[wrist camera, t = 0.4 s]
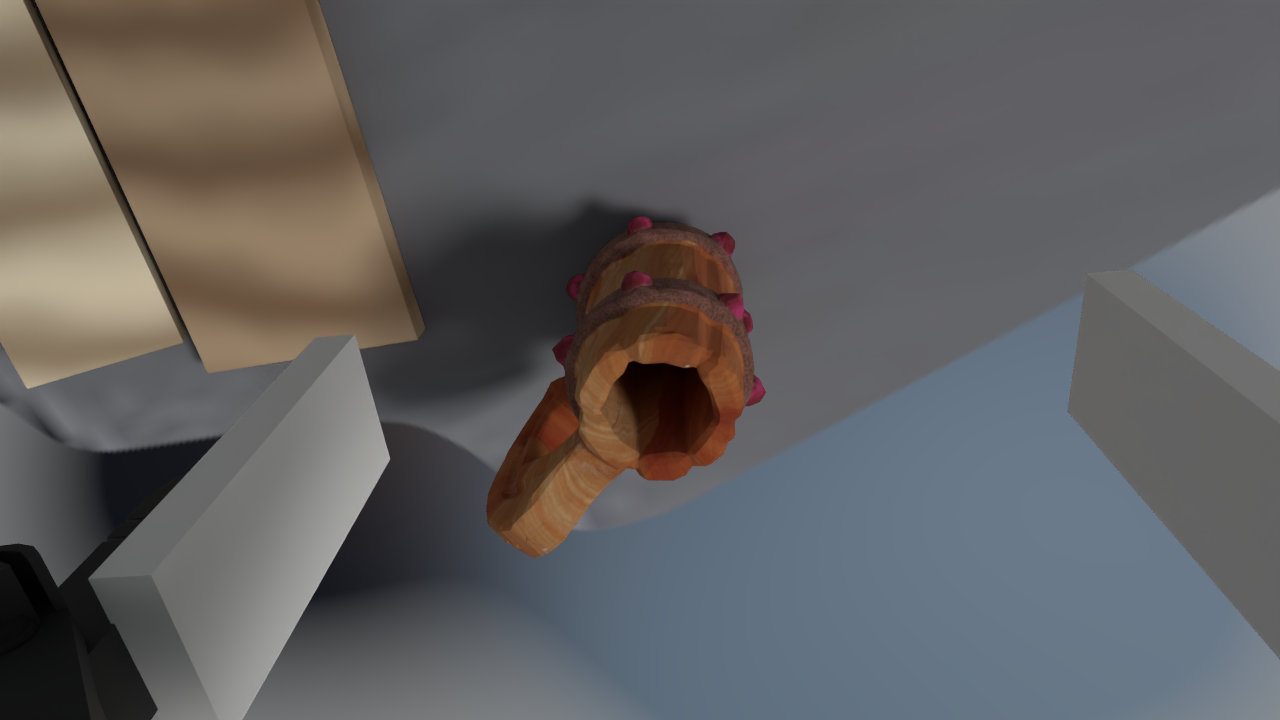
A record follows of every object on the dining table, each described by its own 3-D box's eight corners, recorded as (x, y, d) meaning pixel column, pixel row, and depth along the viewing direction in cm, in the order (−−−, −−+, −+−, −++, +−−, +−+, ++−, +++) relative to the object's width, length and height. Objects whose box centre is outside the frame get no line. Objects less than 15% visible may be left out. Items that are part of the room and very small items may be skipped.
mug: (672, 161, 40) (669, 264, 27) (782, 273, 43) (831, 420, 29) (481, 350, 45) (399, 518, 32) (590, 441, 48) (556, 634, 34)
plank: (-173, 12, 36) (-191, 11, 34) (20, -22, 38) (11, -24, 36) (34, 378, 43) (27, 388, 42) (186, 333, 45) (183, 342, 44)
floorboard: (20, -75, 37) (-5, -76, 35) (274, -134, 35) (258, -138, 34) (218, 361, 46) (204, 373, 45) (425, 328, 45) (417, 339, 43)
